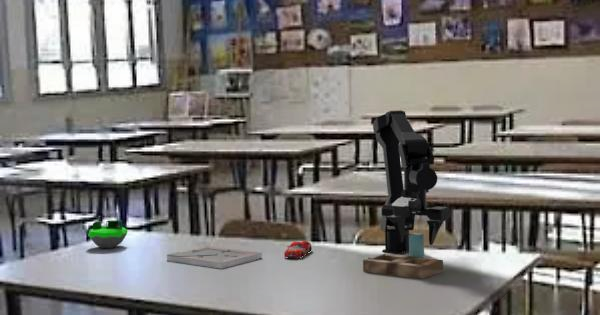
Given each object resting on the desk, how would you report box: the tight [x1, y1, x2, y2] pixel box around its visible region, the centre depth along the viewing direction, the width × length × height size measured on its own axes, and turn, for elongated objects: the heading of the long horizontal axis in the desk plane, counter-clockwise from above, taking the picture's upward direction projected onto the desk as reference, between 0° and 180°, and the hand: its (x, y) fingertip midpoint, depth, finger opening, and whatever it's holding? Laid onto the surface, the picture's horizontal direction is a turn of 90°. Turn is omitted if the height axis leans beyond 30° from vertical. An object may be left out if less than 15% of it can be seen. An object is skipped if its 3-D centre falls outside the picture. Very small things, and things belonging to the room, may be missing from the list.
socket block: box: [362, 252, 444, 280], centre depth 245 cm, size 18×10×3 cm, turn 51°
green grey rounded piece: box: [87, 212, 128, 249], centre depth 294 cm, size 12×12×11 cm
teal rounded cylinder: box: [408, 232, 425, 258], centre depth 254 cm, size 4×4×8 cm
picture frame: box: [166, 245, 263, 269], centre depth 270 cm, size 16×2×22 cm
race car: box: [283, 240, 313, 259], centre depth 272 cm, size 13×5×4 cm, turn 161°
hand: (416, 243), depth 254 cm, fingers open, 9 cm apart
